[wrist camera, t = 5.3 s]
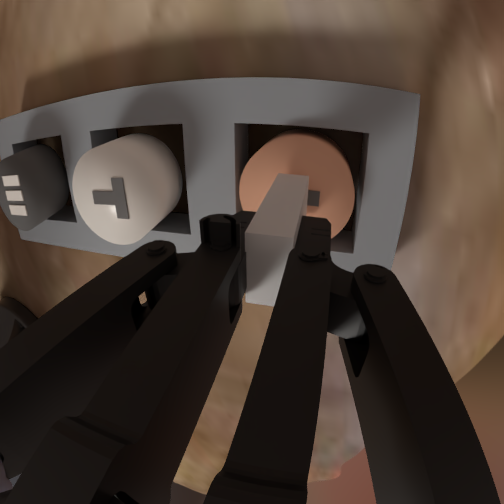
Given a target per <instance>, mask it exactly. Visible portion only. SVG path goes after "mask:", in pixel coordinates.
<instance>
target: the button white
mask: <svg viewBox="0 0 504 504" xmlns="http://www.w3.org/2000/svg"><path fill="white" fill-rule="evenodd" d="M72 188H73V196H74V200H75V203H76V206H77V209H78V211H79V213H80V215H81V217H82V218H83V220H84V221H85V223H86V224H87V225H88V226H89V228H90V229H91V230H92V231H93V232H94V233H96V234H97V235H98V236H99V237H101V238H103V239H104V240H106V241H108V242H111V243H114V244H119V245H128V244H132V243H135V242H137V241H139V240H140V239H142V238H143V237H144V236H145V235H146V234H147V233H148V232H149V231H151V230H152V229H153V228H154V227H155V226H156V225H157V224H158V223H159V222H160V221H161V220H163V219H164V218H165V217H166V216H167V215H168V214H169V213H170V212H171V211H172V210H173V209H174V208H175V207H176V205H177V203H178V202H179V199H180V197H181V192H182V173H181V169H180V166H179V164H178V161H177V159H176V157H175V155H174V154H173V152H172V151H171V150H170V149H169V147H168V146H167V145H166V144H164V143H163V142H162V141H161V140H159V139H158V138H156V137H154V136H152V135H149V134H144V133H133V134H129V135H126V136H123V137H120V138H118V139H115V140H112V141H110V142H107V143H105V144H102V145H100V146H97V147H95V148H92V149H90V150H89V151H87V152H86V153H85V154H83V156H82V157H81V158H80V159H79V161H78V162H77V165H76V167H75V170H74V173H73V181H72Z"/></svg>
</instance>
